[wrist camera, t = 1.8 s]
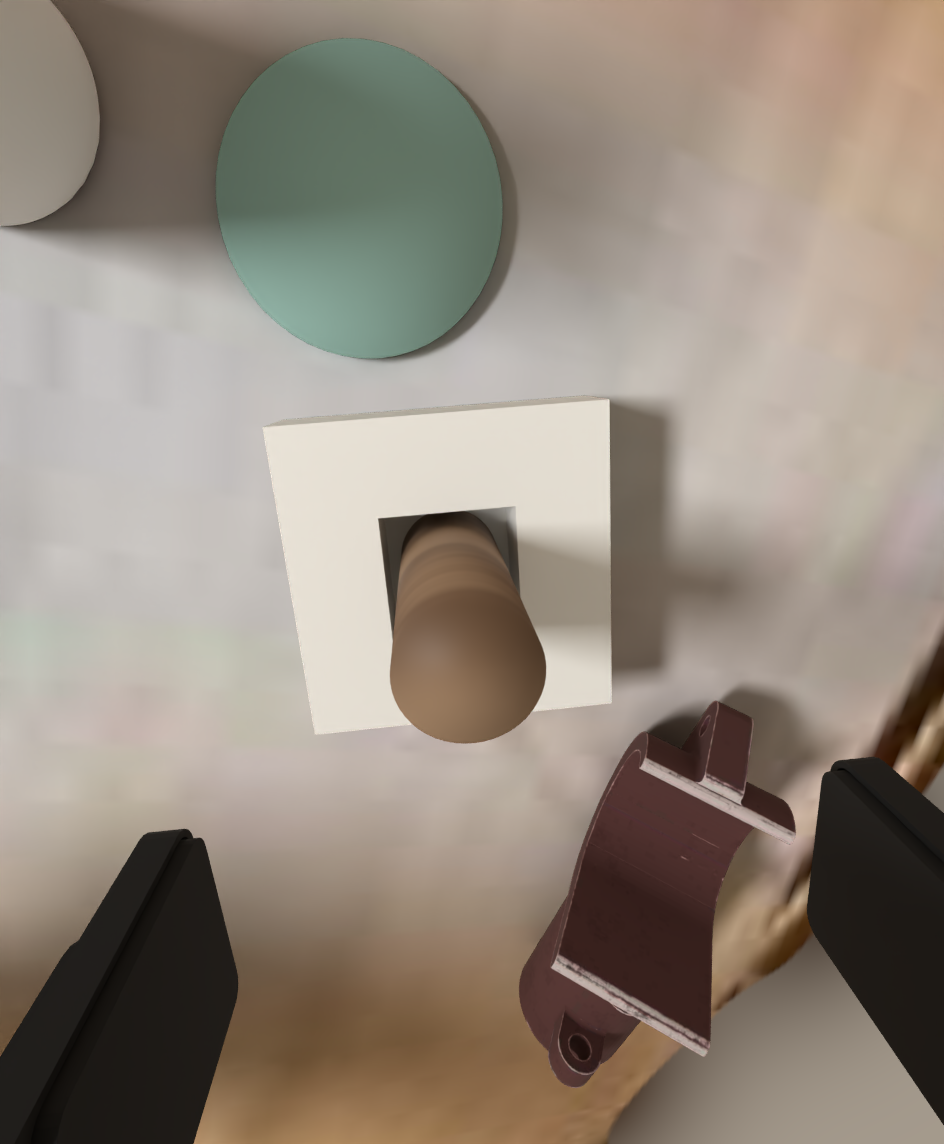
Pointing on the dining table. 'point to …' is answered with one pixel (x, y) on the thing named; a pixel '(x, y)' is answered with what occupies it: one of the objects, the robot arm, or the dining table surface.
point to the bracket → (648, 898)
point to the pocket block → (437, 485)
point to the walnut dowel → (461, 634)
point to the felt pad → (359, 198)
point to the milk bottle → (43, 111)
